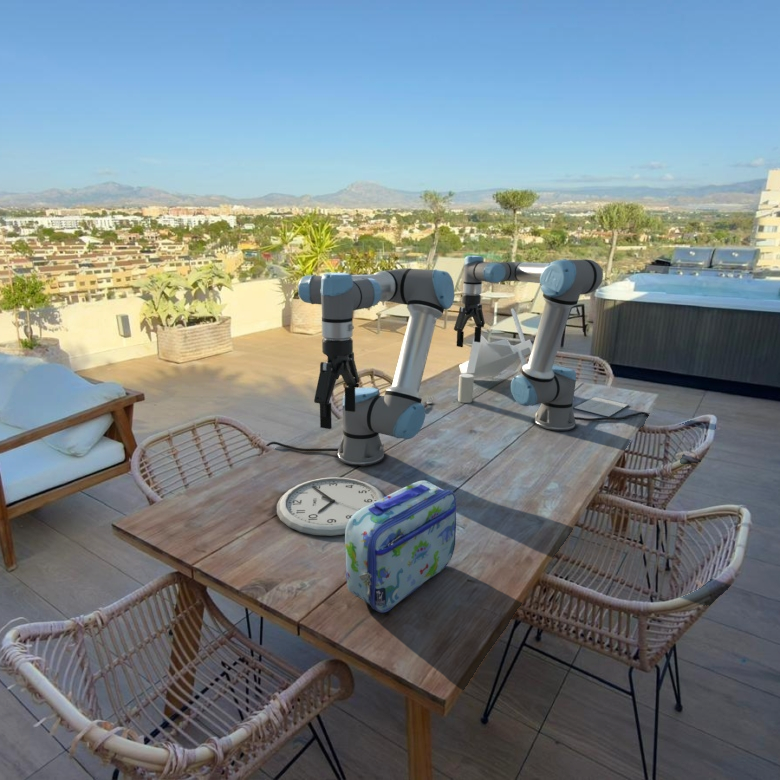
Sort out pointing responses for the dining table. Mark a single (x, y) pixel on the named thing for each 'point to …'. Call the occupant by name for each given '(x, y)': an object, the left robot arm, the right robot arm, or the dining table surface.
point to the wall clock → (325, 504)
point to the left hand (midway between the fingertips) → (338, 419)
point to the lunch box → (399, 543)
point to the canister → (465, 388)
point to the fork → (428, 402)
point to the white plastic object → (496, 354)
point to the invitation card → (601, 406)
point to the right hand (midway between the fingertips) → (468, 344)
